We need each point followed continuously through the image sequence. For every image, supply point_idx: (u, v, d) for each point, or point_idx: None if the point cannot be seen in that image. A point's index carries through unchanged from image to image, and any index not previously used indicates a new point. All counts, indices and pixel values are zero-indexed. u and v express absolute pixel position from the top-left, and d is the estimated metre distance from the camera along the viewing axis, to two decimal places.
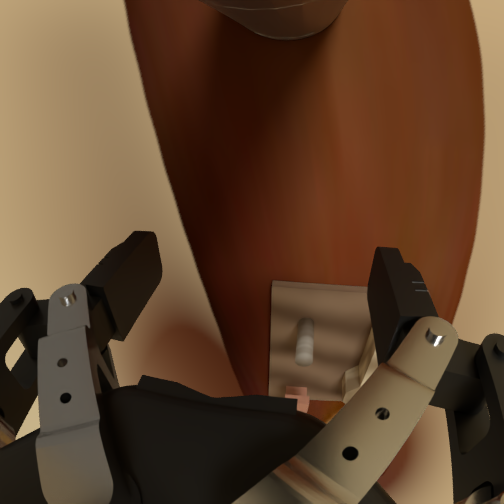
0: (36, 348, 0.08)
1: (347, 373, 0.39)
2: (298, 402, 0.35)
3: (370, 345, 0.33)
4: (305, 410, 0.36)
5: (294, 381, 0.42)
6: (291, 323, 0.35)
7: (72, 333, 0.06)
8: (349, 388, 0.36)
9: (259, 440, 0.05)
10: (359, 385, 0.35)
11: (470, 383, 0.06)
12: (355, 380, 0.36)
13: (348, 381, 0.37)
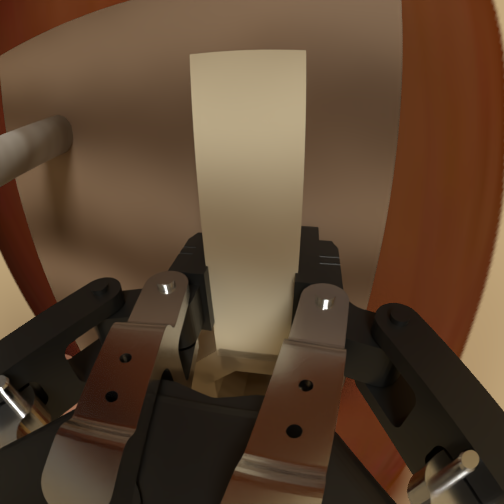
0: None
1: None
2: None
3: None
4: None
5: None
6: None
7: (150, 330, 0.06)
8: None
9: None
10: (216, 346, 0.11)
11: (364, 350, 0.07)
12: (214, 333, 0.12)
13: (200, 337, 0.13)
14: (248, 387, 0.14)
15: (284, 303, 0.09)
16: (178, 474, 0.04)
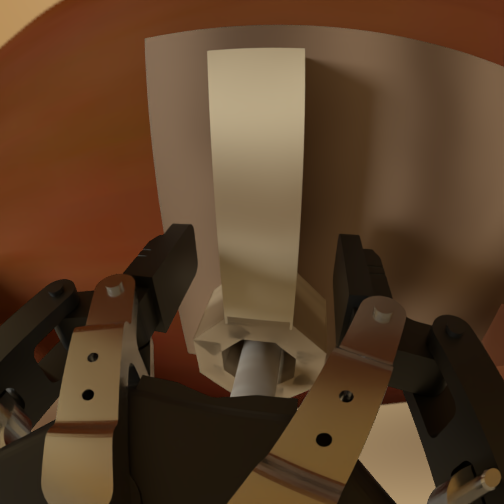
0: None
1: (216, 295, 0.16)
2: None
3: None
4: None
5: None
6: None
7: (109, 328, 0.06)
8: (202, 328, 0.13)
9: (259, 440, 0.05)
10: (224, 315, 0.12)
11: (421, 362, 0.06)
12: (222, 305, 0.13)
13: (208, 311, 0.14)
14: None
15: (287, 269, 0.10)
16: (166, 457, 0.04)
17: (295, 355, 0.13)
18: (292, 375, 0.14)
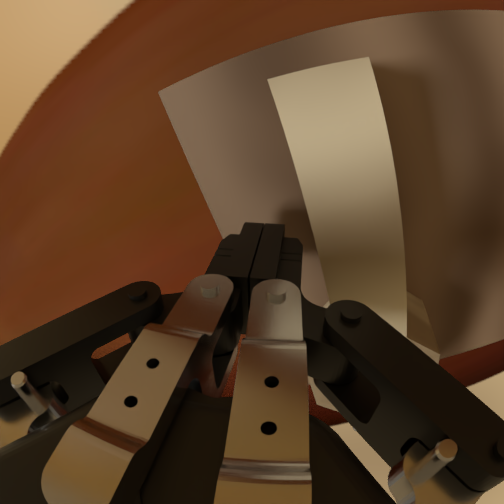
0: None
1: None
2: None
3: None
4: None
5: None
6: None
7: (183, 337, 0.06)
8: None
9: None
10: None
11: (315, 346, 0.07)
12: None
13: None
14: None
15: (396, 286, 0.09)
16: (184, 490, 0.04)
17: None
18: None
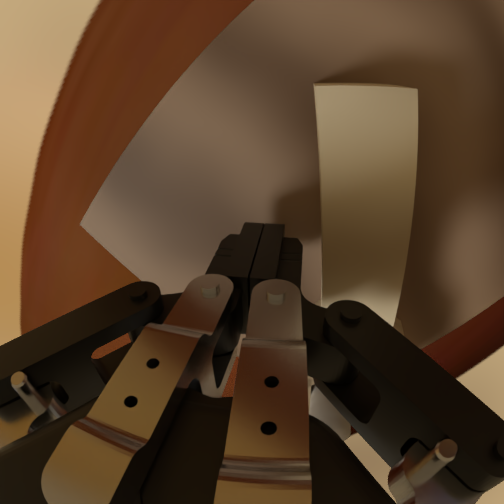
0: None
1: None
2: None
3: None
4: None
5: None
6: None
7: (183, 337, 0.06)
8: None
9: None
10: None
11: (315, 347, 0.07)
12: None
13: None
14: None
15: (388, 307, 0.10)
16: (184, 490, 0.04)
17: None
18: None
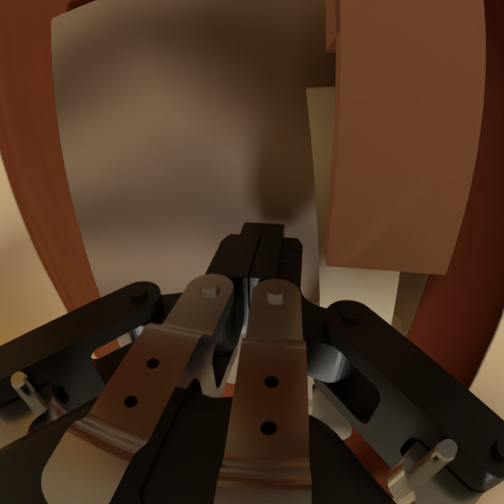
0: None
1: None
2: None
3: None
4: (345, 194, 0.06)
5: None
6: None
7: (183, 337, 0.06)
8: None
9: None
10: None
11: (314, 347, 0.07)
12: None
13: None
14: None
15: (385, 306, 0.10)
16: (184, 490, 0.04)
17: None
18: None
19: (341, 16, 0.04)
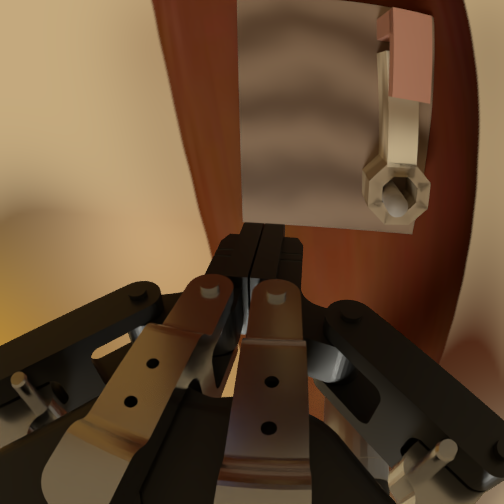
0: None
1: (365, 169, 0.27)
2: (408, 99, 0.19)
3: (382, 91, 0.22)
4: (396, 74, 0.18)
5: None
6: (400, 183, 0.27)
7: (183, 337, 0.06)
8: (372, 175, 0.24)
9: None
10: (386, 163, 0.23)
11: (315, 346, 0.07)
12: (378, 164, 0.25)
13: (369, 171, 0.25)
14: None
15: (414, 135, 0.22)
16: (184, 490, 0.04)
17: (417, 185, 0.24)
18: (414, 202, 0.25)
19: (393, 28, 0.16)
